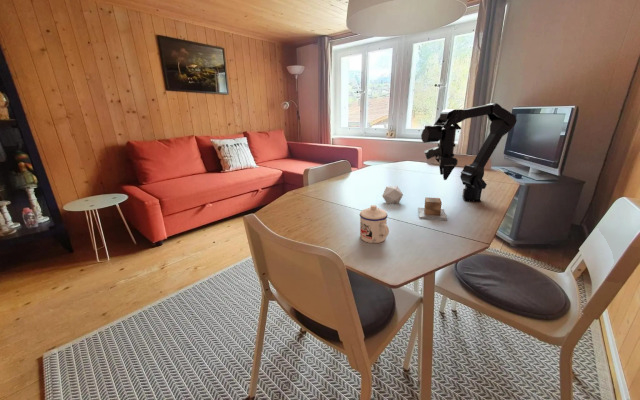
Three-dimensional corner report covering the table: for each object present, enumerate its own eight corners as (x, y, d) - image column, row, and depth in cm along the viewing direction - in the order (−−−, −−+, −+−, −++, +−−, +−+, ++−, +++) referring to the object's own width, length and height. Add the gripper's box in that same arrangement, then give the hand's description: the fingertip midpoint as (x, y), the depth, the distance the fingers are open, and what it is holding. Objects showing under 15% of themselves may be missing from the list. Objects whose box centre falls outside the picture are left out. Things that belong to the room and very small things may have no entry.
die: (398, 209, 114) (408, 190, 114) (381, 199, 114) (391, 180, 114) (393, 208, 122) (402, 191, 123) (377, 200, 122) (386, 182, 123)
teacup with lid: (354, 235, 91) (354, 204, 87) (375, 229, 94) (376, 199, 91) (375, 250, 81) (376, 216, 77) (398, 243, 84) (400, 210, 80)
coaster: (443, 210, 108) (443, 209, 108) (447, 220, 99) (447, 218, 99) (418, 209, 111) (418, 207, 111) (419, 218, 102) (419, 216, 102)
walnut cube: (438, 210, 107) (439, 198, 105) (440, 215, 102) (441, 202, 100) (424, 209, 108) (425, 197, 106) (425, 214, 103) (426, 201, 101)
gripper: (424, 138, 119) (421, 172, 124) (428, 144, 102) (425, 182, 108) (450, 138, 116) (447, 172, 121) (460, 143, 99) (455, 183, 104)
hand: (443, 177), depth 114 cm, fingers open, 9 cm apart
